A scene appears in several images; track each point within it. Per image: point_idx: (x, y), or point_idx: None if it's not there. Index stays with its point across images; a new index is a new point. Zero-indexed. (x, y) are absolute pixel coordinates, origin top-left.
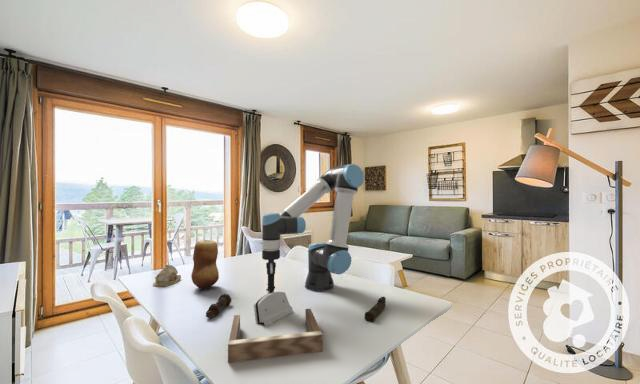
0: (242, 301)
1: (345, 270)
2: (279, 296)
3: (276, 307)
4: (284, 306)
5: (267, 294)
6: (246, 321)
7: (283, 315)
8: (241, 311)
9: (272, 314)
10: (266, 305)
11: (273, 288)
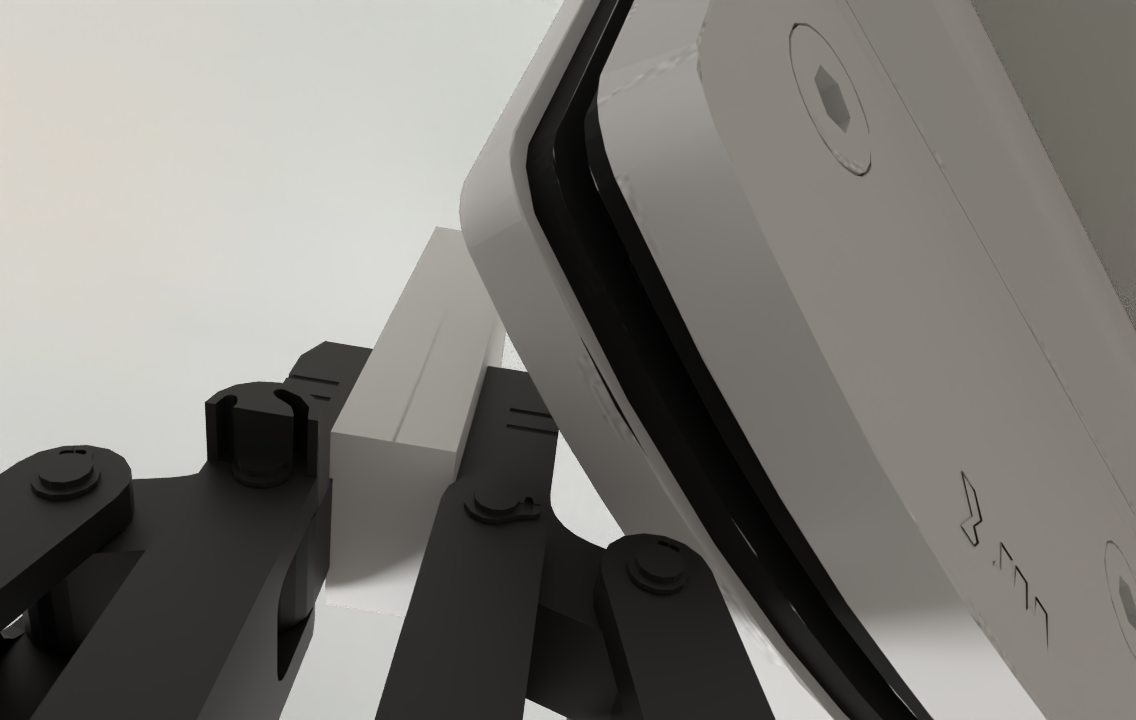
0: (8, 626)
1: None
2: (871, 308)
3: (991, 326)
4: (862, 60)
5: (813, 686)
6: None
7: (1019, 104)
8: None
9: (1083, 395)
10: (1117, 640)
11: (722, 618)
